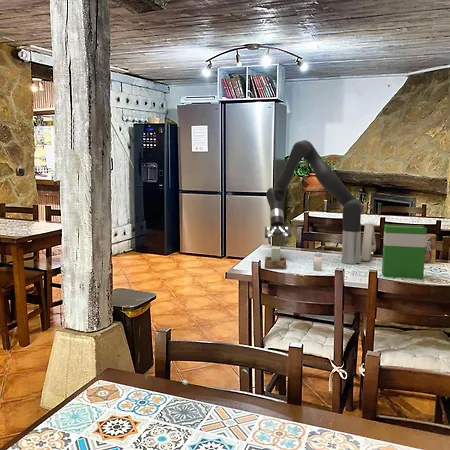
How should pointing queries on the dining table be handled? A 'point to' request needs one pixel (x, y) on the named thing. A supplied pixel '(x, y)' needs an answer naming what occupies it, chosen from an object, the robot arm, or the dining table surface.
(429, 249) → the candy box
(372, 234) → the wall bracket
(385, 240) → the hardback book
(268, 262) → the walnut caddy
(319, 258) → the salt shaker
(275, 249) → the sage block
